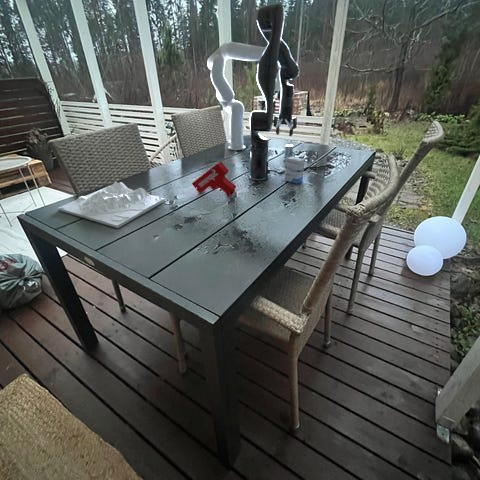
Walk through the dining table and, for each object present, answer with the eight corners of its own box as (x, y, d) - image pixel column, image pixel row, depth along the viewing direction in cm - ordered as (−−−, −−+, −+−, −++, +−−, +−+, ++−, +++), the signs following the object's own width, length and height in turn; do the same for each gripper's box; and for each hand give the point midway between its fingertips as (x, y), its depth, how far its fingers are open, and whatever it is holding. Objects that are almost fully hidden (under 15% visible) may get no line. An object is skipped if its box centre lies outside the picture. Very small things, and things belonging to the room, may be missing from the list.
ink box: (302, 181, 142) (305, 159, 136) (297, 184, 139) (300, 161, 133) (289, 177, 147) (291, 156, 141) (284, 180, 144) (285, 158, 138)
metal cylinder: (293, 161, 173) (294, 145, 168) (287, 162, 171) (288, 146, 166) (288, 159, 176) (289, 144, 171) (282, 160, 174) (284, 145, 169)
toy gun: (240, 187, 127) (221, 160, 123) (237, 190, 124) (218, 163, 120) (214, 205, 137) (195, 180, 133) (210, 208, 134) (191, 183, 130)
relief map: (117, 228, 103) (114, 216, 100) (59, 210, 116) (54, 199, 113) (165, 201, 123) (163, 190, 120) (110, 188, 136) (107, 178, 134)
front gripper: (300, 105, 155) (297, 135, 164) (278, 104, 162) (276, 133, 171) (294, 107, 150) (291, 137, 158) (272, 105, 157) (270, 135, 165)
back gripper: (279, 71, 193) (278, 98, 202) (264, 71, 183) (263, 100, 192) (288, 71, 189) (286, 99, 198) (272, 71, 178) (271, 100, 188)
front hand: (284, 135), depth 164 cm, fingers open, 8 cm apart
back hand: (274, 99), depth 195 cm, fingers open, 9 cm apart
